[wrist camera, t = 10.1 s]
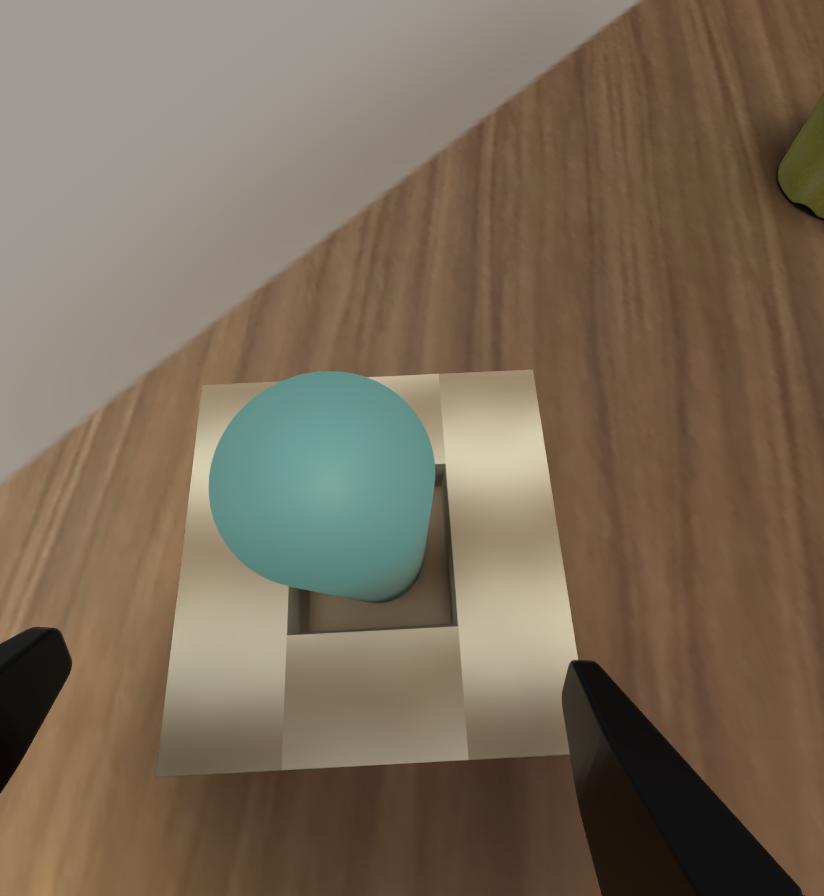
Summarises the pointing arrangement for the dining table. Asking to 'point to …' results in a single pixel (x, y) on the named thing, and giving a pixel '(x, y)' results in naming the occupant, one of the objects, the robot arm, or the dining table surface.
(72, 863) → the dining table surface
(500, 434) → the cream square wooden frame
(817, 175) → the plant pot
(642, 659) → the dining table surface
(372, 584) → the teal cylinder
